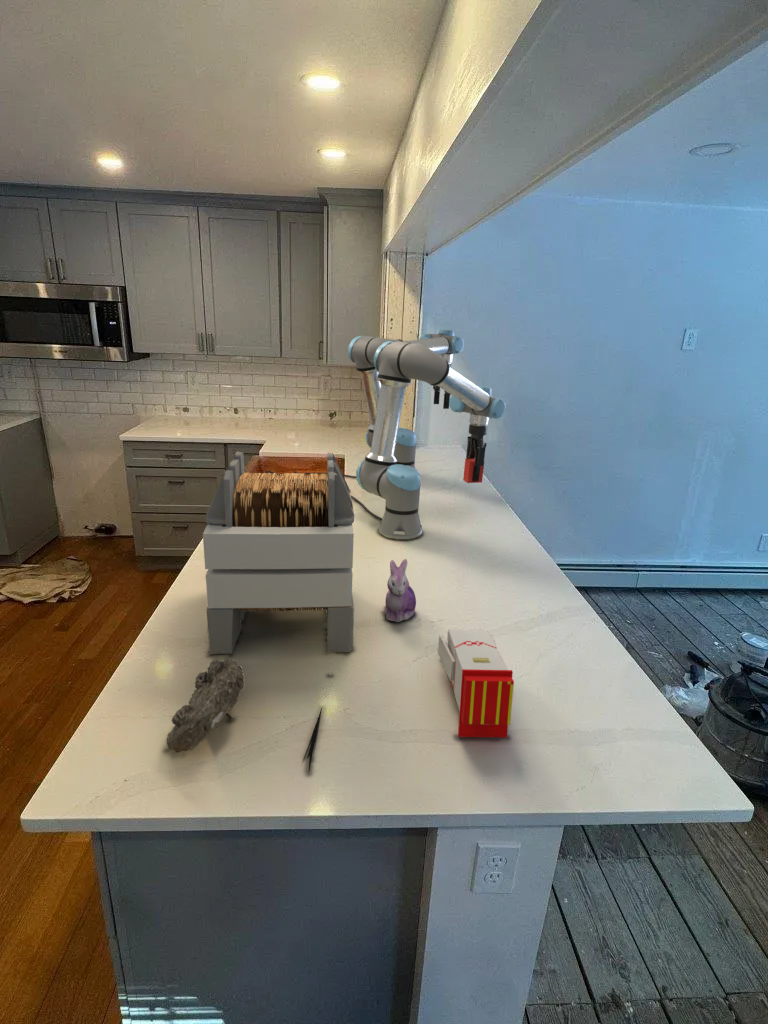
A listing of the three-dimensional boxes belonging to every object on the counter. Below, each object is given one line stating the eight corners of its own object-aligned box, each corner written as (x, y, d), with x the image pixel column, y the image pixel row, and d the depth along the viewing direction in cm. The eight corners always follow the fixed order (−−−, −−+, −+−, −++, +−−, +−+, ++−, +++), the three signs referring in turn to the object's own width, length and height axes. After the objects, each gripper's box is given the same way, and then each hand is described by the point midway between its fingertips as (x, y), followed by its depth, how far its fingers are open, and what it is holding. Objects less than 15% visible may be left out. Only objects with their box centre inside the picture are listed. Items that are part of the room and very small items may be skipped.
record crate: (229, 585, 158) (221, 442, 144) (346, 584, 161) (350, 444, 148) (206, 656, 126) (193, 481, 112) (353, 652, 130) (358, 483, 116)
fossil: (192, 660, 117) (244, 628, 112) (224, 691, 120) (276, 661, 115) (142, 746, 98) (202, 712, 93) (182, 779, 101) (242, 748, 96)
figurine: (392, 627, 141) (395, 572, 136) (374, 608, 149) (376, 556, 144) (425, 619, 145) (429, 566, 140) (405, 601, 154) (408, 550, 149)
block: (482, 482, 239) (484, 461, 236) (467, 483, 237) (469, 461, 234) (477, 479, 243) (479, 458, 240) (463, 479, 241) (465, 458, 238)
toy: (488, 613, 130) (523, 677, 101) (484, 667, 133) (517, 744, 104) (435, 612, 130) (455, 676, 101) (432, 666, 133) (451, 743, 103)
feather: (331, 679, 122) (336, 673, 122) (307, 777, 96) (313, 769, 95) (324, 675, 122) (329, 669, 121) (298, 772, 95) (304, 764, 95)
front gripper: (496, 428, 225) (490, 485, 232) (477, 420, 241) (472, 473, 248) (479, 428, 223) (473, 485, 230) (461, 420, 239) (456, 473, 246)
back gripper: (461, 365, 267) (457, 410, 274) (442, 360, 290) (439, 402, 297) (446, 365, 265) (443, 410, 272) (428, 360, 288) (425, 402, 295)
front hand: (472, 479), depth 239 cm, fingers closed on block, 5 cm apart
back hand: (441, 406), depth 285 cm, fingers open, 13 cm apart
